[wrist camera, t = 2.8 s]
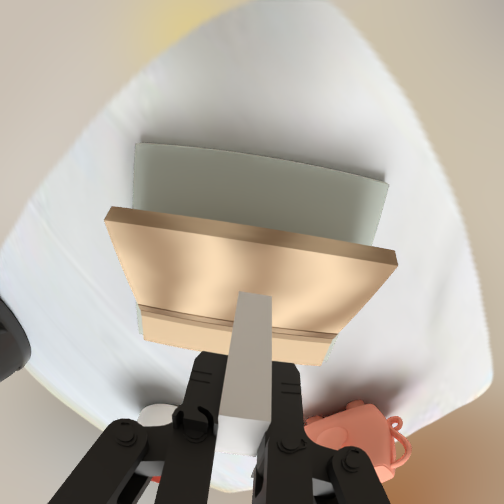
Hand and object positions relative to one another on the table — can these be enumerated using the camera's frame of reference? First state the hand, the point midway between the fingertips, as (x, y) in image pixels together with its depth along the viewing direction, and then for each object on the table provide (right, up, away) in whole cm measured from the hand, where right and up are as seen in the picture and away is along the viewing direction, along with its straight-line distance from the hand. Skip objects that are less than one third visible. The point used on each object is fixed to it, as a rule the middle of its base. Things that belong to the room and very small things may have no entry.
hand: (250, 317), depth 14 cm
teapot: (+13, -22, +23) cm, 34 cm away
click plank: (0, +1, +8) cm, 8 cm away
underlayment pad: (0, +2, +12) cm, 12 cm away
